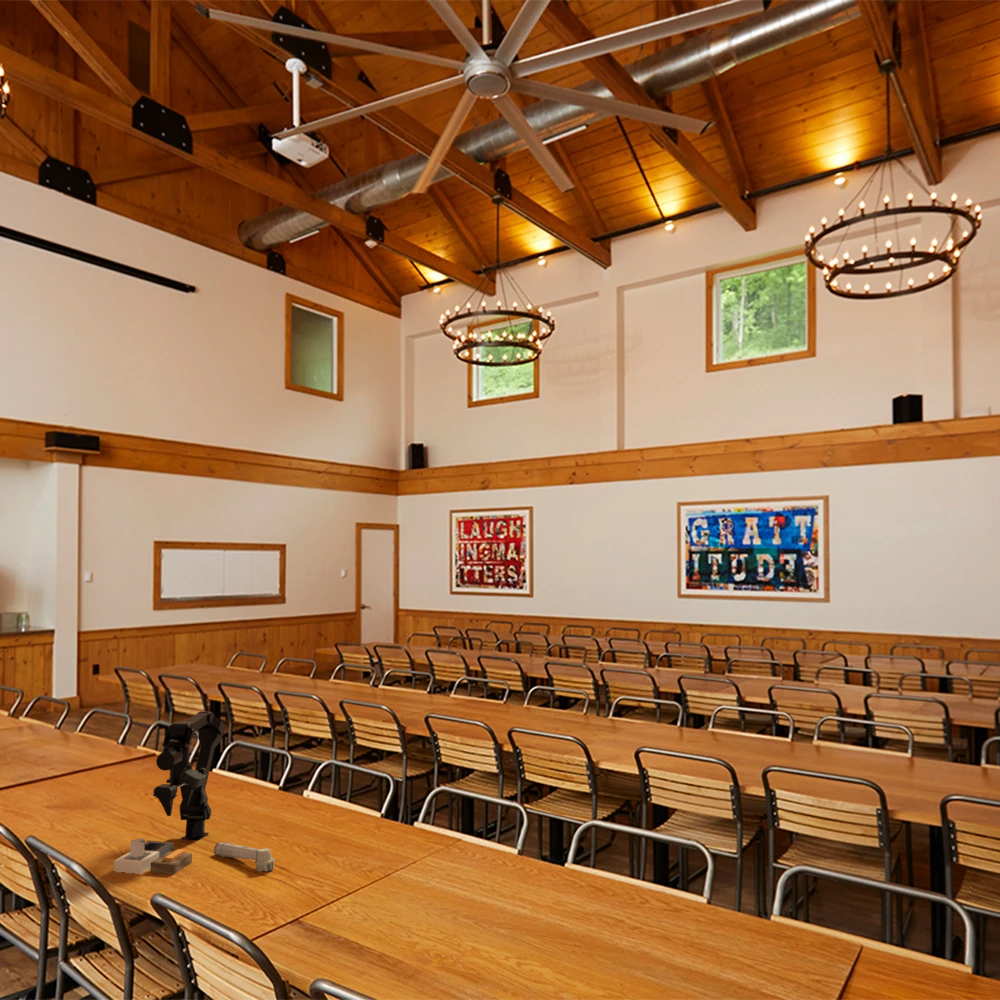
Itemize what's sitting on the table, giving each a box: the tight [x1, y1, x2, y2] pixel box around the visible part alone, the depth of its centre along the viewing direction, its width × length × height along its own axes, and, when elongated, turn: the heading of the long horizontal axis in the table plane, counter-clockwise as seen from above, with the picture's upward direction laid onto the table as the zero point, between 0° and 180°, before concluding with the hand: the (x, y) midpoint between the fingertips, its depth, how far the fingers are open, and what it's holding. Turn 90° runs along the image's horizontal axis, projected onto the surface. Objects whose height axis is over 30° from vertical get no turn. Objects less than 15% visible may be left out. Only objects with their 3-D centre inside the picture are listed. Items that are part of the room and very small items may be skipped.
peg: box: [129, 838, 146, 860], centre depth 238 cm, size 4×4×8 cm
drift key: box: [165, 848, 186, 863], centre depth 239 cm, size 7×2×4 cm, turn 169°
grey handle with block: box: [213, 841, 275, 873], centre depth 242 cm, size 5×7×25 cm
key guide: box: [149, 851, 193, 876], centre depth 238 cm, size 9×8×3 cm
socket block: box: [144, 840, 174, 857], centre depth 248 cm, size 9×9×2 cm
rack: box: [113, 850, 159, 875], centre depth 238 cm, size 9×9×4 cm
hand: (177, 811), depth 251 cm, fingers open, 9 cm apart
